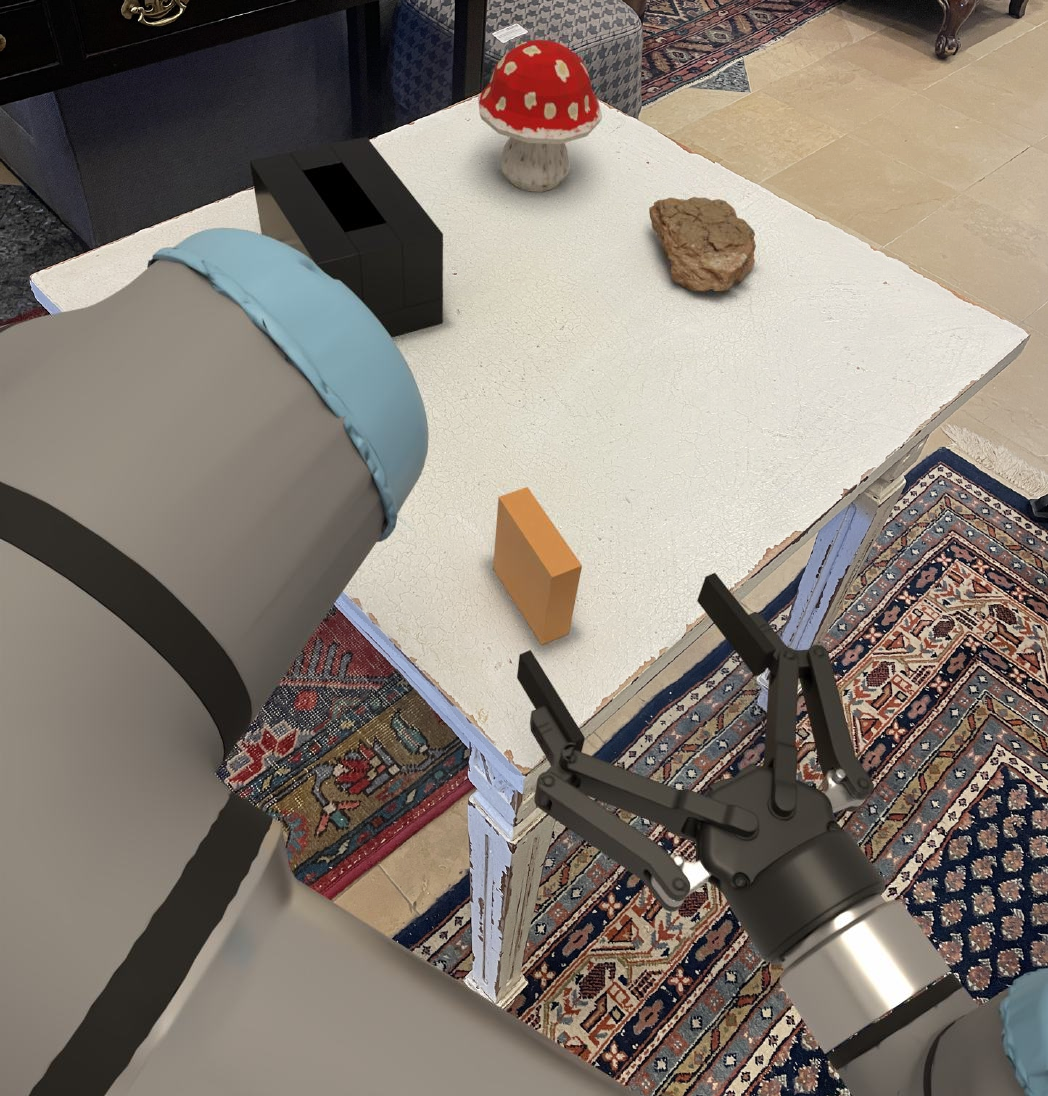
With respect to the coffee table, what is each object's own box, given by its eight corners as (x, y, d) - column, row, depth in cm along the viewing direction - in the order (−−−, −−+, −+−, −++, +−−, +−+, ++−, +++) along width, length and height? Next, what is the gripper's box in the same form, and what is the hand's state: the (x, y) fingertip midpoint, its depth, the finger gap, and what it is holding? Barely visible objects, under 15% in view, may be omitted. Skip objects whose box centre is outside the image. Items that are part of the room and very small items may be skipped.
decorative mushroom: (488, 138, 116) (493, 7, 105) (601, 157, 116) (619, 26, 104) (462, 199, 108) (464, 63, 96) (583, 220, 107) (601, 85, 95)
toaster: (314, 358, 90) (302, 267, 82) (252, 252, 99) (236, 162, 91) (442, 323, 94) (443, 233, 86) (372, 225, 104) (366, 136, 96)
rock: (768, 302, 100) (782, 261, 96) (667, 303, 99) (676, 261, 95) (737, 229, 108) (748, 188, 104) (643, 229, 107) (651, 188, 103)
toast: (541, 645, 72) (551, 577, 65) (492, 568, 76) (498, 496, 69) (569, 633, 72) (582, 565, 66) (519, 558, 77) (527, 486, 70)
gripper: (617, 1071, 48) (439, 730, 59) (975, 853, 57) (760, 590, 68) (641, 1037, 42) (438, 666, 54) (1036, 800, 51) (789, 522, 62)
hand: (617, 623), depth 61 cm, fingers open, 13 cm apart
